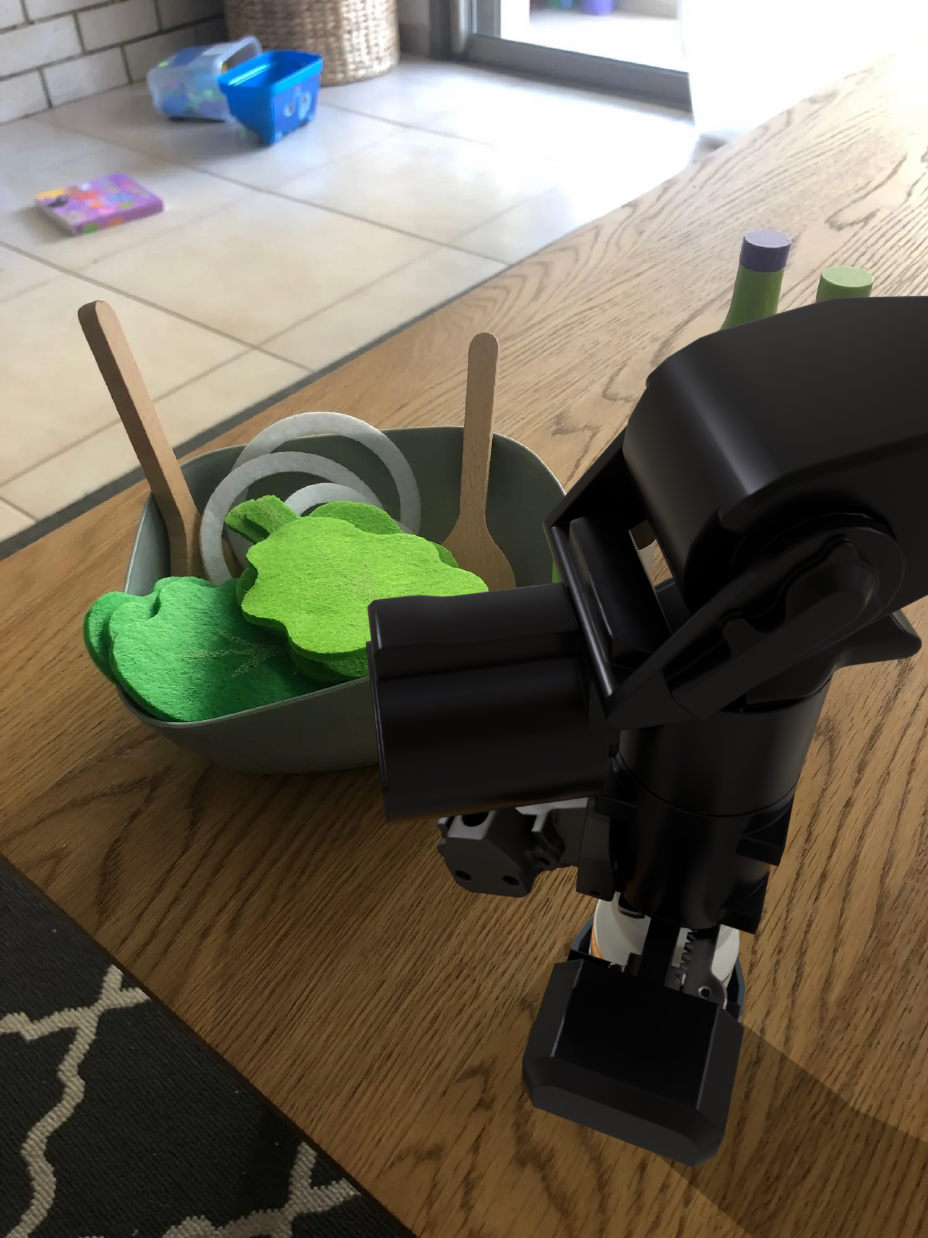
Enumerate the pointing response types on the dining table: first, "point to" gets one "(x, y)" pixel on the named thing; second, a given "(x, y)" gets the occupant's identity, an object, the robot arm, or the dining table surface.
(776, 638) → the robot arm
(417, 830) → the dining table surface
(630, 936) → the pill bottle
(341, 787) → the dining table surface
